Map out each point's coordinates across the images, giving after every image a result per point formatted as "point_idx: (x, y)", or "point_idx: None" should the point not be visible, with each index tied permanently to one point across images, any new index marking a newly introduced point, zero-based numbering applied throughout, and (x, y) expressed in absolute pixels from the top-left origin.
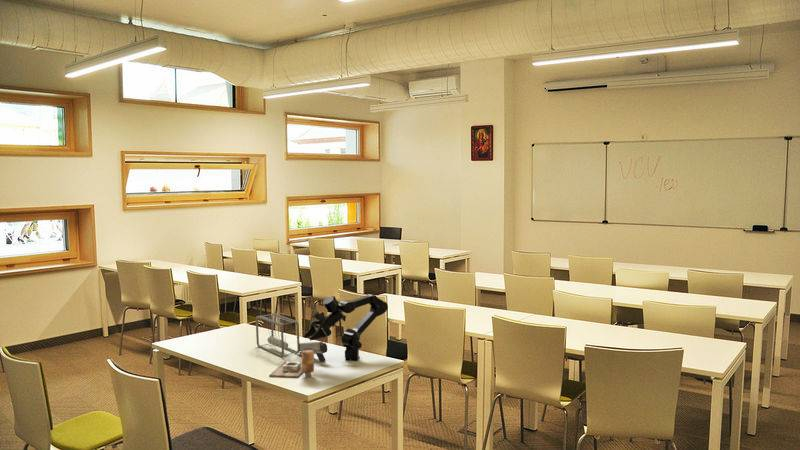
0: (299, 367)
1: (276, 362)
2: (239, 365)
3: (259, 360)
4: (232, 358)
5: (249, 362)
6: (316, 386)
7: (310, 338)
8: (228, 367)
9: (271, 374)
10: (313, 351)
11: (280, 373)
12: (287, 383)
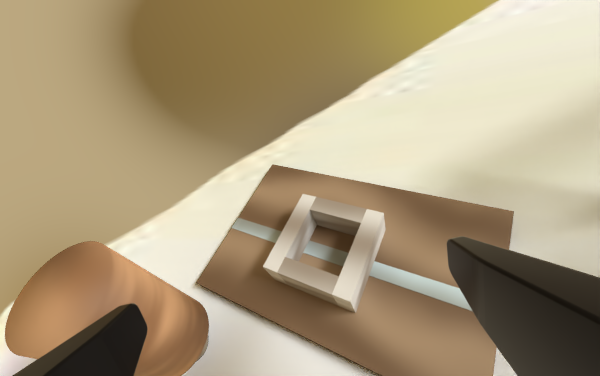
0: (324, 298)
1: (526, 175)
2: (464, 59)
3: (565, 100)
4: (587, 15)
5: (517, 75)
6: None
7: (111, 318)
8: (437, 41)
9: (276, 170)
10: (19, 352)
11: (275, 202)
12: (160, 237)
